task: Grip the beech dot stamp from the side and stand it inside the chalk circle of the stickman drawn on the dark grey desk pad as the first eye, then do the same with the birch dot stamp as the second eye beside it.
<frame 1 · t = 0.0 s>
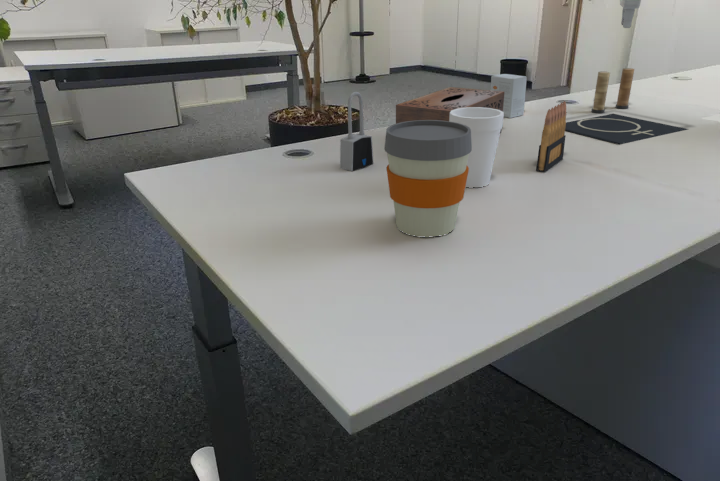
hand: (625, 26, 141), 23 cm above the table, tool pointing down, fingers open, 8 cm apart
birch stamp: (597, 111, 154), on the table
beech stamp: (621, 107, 158), on the table
padlock: (357, 166, 114), on the table
ammunition clip: (549, 165, 111), on the table
tissue box cover: (450, 141, 130), on the table
reusable coffee cup: (425, 226, 85), on the table
desk pad: (618, 128, 136), on the table
small box: (505, 115, 154), on the table
foam cup: (471, 183, 102), on the table
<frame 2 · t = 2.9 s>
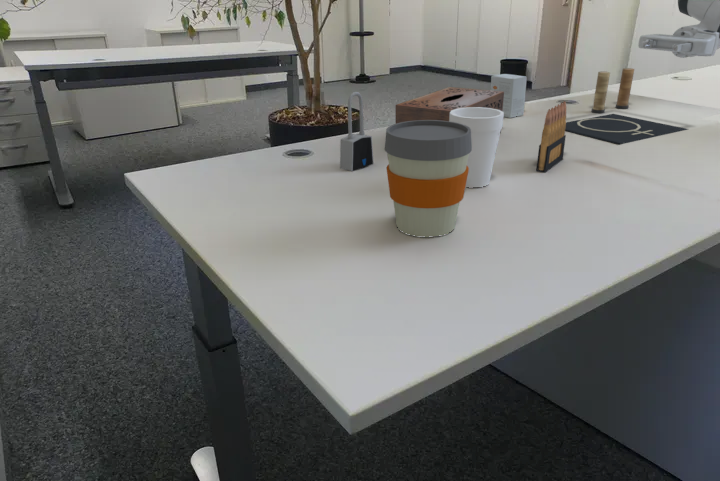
hand: (659, 46, 156), 16 cm above the table, tool horizontal, fingers open, 8 cm apart
nothing on the table moved.
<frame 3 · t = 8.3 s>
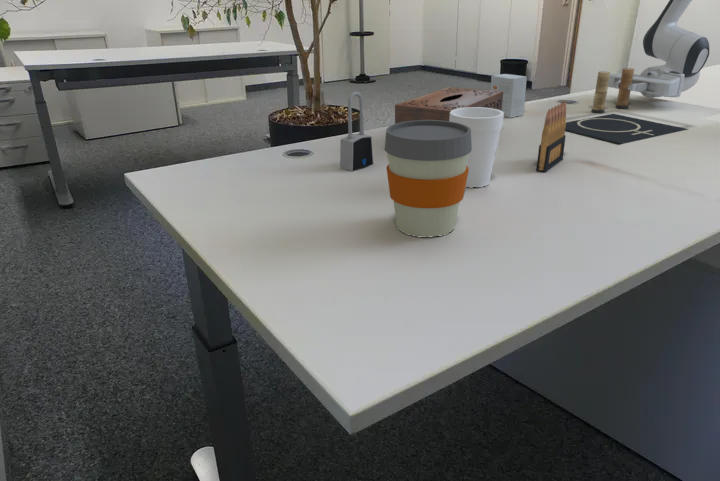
hand: (623, 86, 155), 6 cm above the table, tool horizontal, fingers closed on beech stamp, 3 cm apart
beech stamp: (621, 107, 158), on the table, touching gripper
everything else where it was.
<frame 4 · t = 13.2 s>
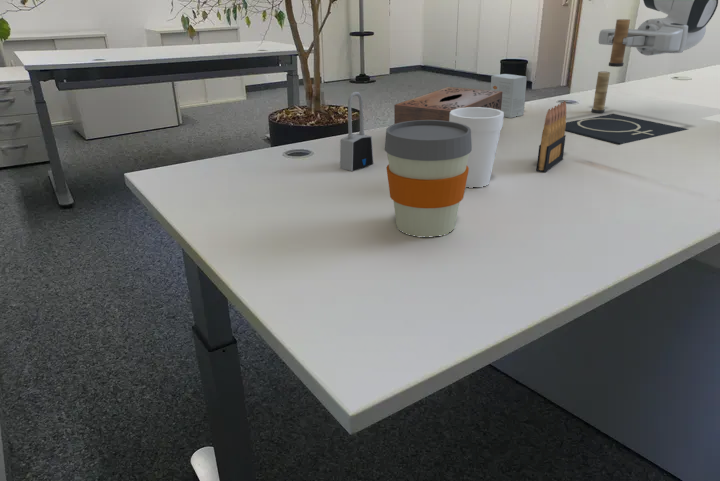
hand: (617, 40, 135), 20 cm above the table, tool horizontal, fingers closed on beech stamp, 3 cm apart
beech stamp: (615, 65, 138), point 14 cm above the table, touching gripper
everything else where it was.
when the fingers open (6 cm above the table, at t = 18.3 s): beech stamp stays where it is, resting on desk pad.
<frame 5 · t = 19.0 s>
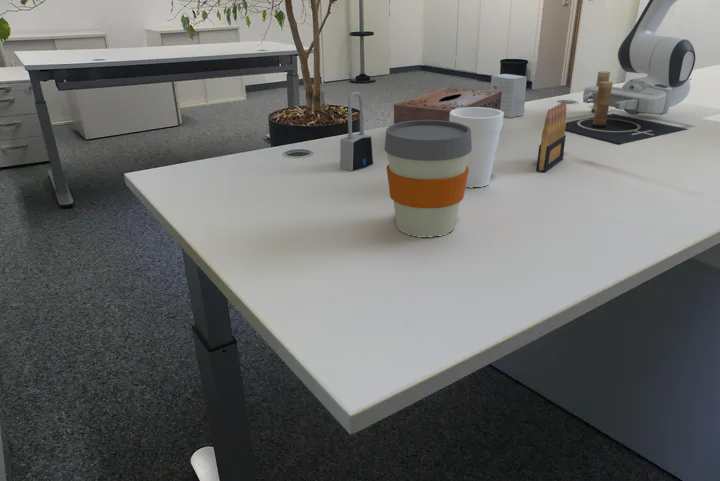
hand: (601, 102, 134), 7 cm above the table, tool horizontal, fingers open, 8 cm apart
beech stamp: (598, 126, 137), resting on desk pad
everything else where it was.
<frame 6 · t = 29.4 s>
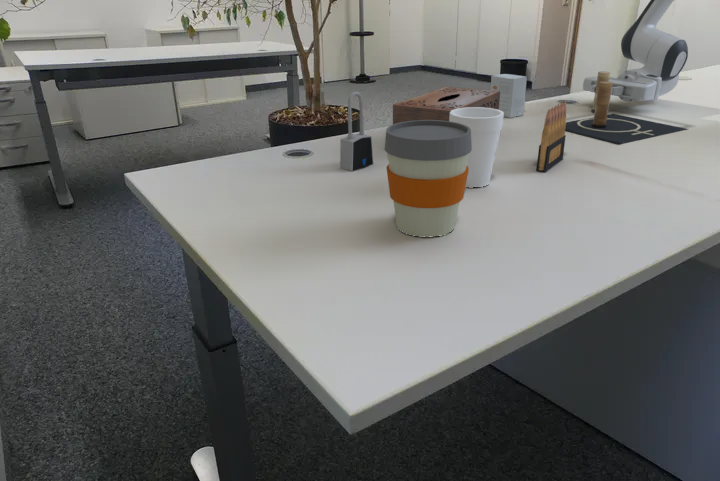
hand: (599, 90, 151), 6 cm above the table, tool horizontal, fingers closed on birch stamp, 3 cm apart
birch stamp: (597, 111, 154), on the table, touching gripper
everything else where it was.
when the fingers open (6 cm above the table, at t = 37.9 s): birch stamp stays where it is, resting on desk pad.
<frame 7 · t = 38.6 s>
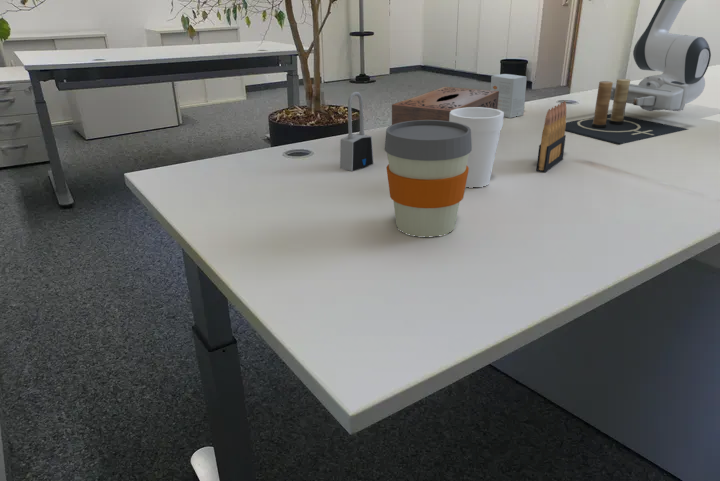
hand: (619, 98, 137), 7 cm above the table, tool horizontal, fingers open, 8 cm apart
birch stamp: (616, 123, 140), resting on desk pad
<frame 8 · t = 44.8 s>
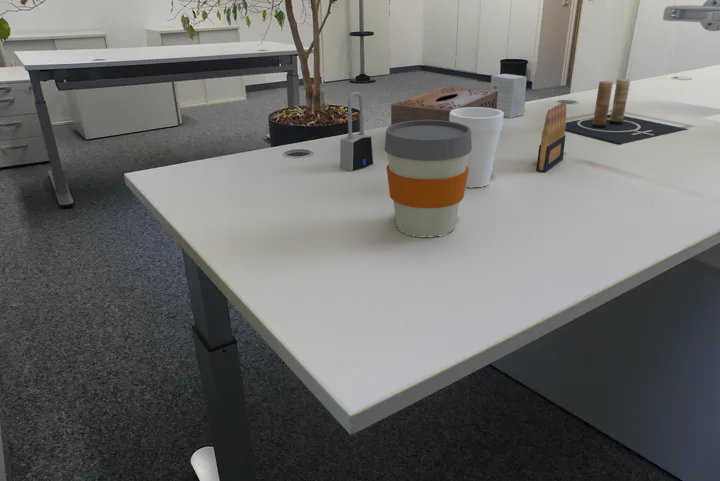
hand: (686, 15, 138), 25 cm above the table, tool horizontal, fingers open, 8 cm apart
at the end: beech stamp 0.2 cm from the target spot on the desk pad, point 0.4 cm above the desk pad's base; birch stamp 0.2 cm from the target spot on the desk pad, point 0.4 cm above the desk pad's base; birch stamp tilted 0° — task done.
